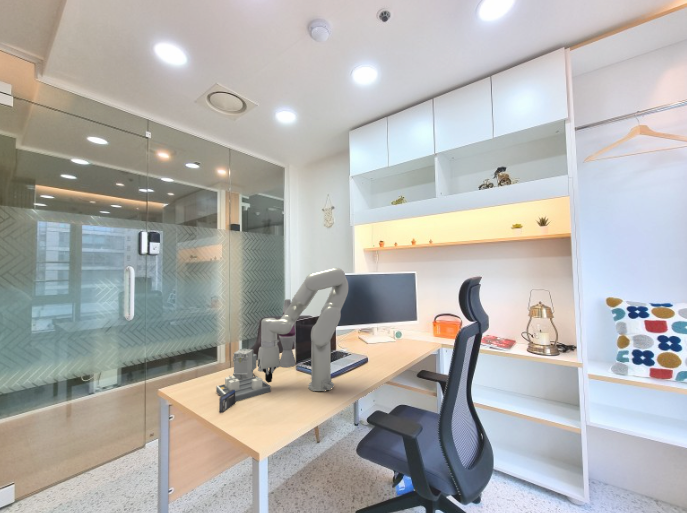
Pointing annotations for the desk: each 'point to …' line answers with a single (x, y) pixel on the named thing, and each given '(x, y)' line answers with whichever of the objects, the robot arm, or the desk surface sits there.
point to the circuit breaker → (244, 363)
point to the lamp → (287, 343)
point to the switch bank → (244, 389)
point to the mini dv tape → (226, 401)
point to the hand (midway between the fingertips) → (268, 381)
